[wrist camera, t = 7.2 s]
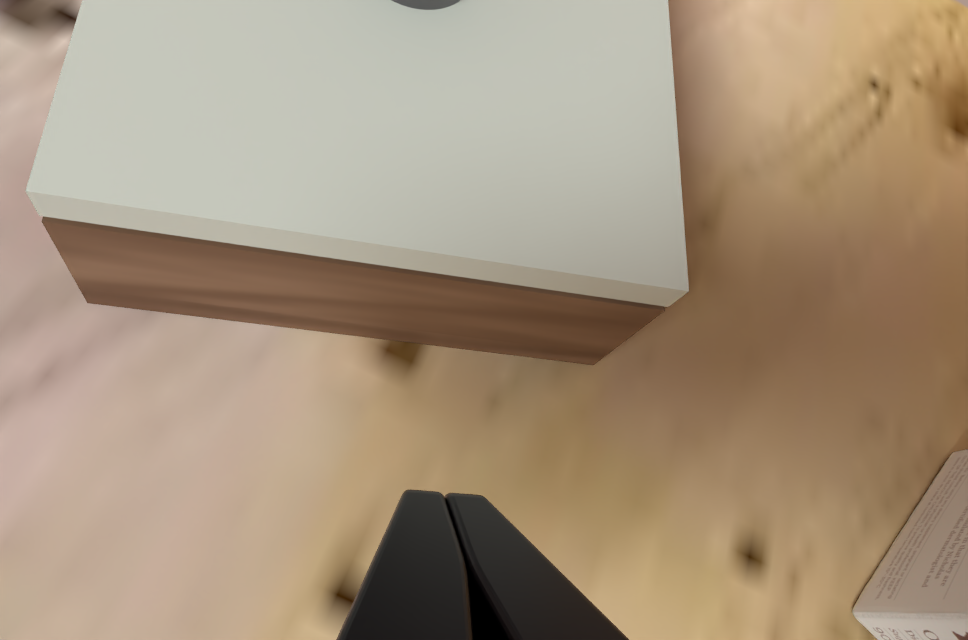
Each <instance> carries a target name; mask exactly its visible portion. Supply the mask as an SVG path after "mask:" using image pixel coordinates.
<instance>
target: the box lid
mask: <svg viewBox="0 0 968 640" xmlns="http://www.w3.org/2000/svg"><path fill="white" fill-rule="evenodd" d="M26 193H27V195H28V196H29V198H30V200H31V202H32V203H33V205H34V207H35V209H36V211H37V212H38V214H39V216H44V217H51V218H58V219H65V220H72V221H79V222H86V223H93V224H99V225H106V226H113V227H120V228H127V229H134V230H141V231H148V232H155V233H161V234H168V235H175V236H182V237H189V238H196V239H203V240H210V241H217V242H224V243H230V244H237V245H244V246H251V247H258V248H265V249H272V250H279V251H286V252H293V253H299V254H306V255H313V256H320V257H327V258H334V259H341V260H348V261H355V262H362V263H368V264H375V265H382V266H389V267H396V268H403V269H410V270H417V271H424V272H430V273H437V274H444V275H451V276H458V277H465V278H472V279H479V280H486V281H493V282H499V283H506V284H513V285H520V286H527V287H534V288H541V289H548V290H555V291H562V292H568V293H575V294H582V295H589V296H596V297H603V298H610V299H617V300H624V301H630V302H637V303H644V304H651V305H658V306H665V307H669V306H670V305H672V304H673V303H674V302H676V301H677V300H678V299H680V298H681V297H682V296H684V295H685V294H686V293H687V292H689V284H688V270H687V256H686V242H685V228H684V215H683V201H682V187H681V173H680V159H679V145H678V132H677V118H676V104H675V90H674V76H673V62H672V48H671V35H670V21H669V7H668V0H82V3H81V7H80V10H79V13H78V17H77V20H76V23H75V27H74V30H73V33H72V37H71V40H70V44H69V47H68V50H67V54H66V57H65V60H64V64H63V67H62V70H61V74H60V77H59V80H58V84H57V87H56V90H55V94H54V97H53V100H52V104H51V107H50V110H49V114H48V117H47V121H46V124H45V127H44V131H43V134H42V137H41V141H40V144H39V147H38V151H37V154H36V157H35V161H34V164H33V167H32V171H31V174H30V177H29V181H28V184H27V187H26Z"/></svg>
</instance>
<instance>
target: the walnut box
mask: <svg viewBox="0 0 968 640" xmlns="http://www.w3.org/2000/svg"><path fill="white" fill-rule="evenodd" d="M42 223H43V225H44V226H45V228H46V230H47V232H48V233H49V235H50V237H51V239H52V241H53V242H54V244H55V246H56V248H57V249H58V251H59V253H60V255H61V257H62V258H63V260H64V262H65V264H66V265H67V267H68V269H69V271H70V273H71V274H72V276H73V278H74V280H75V281H76V283H77V285H78V287H79V289H80V290H81V292H82V294H83V296H84V297H85V299H86V301H87V303H93V304H101V305H109V306H117V307H125V308H133V309H142V310H150V311H158V312H166V313H174V314H182V315H190V316H199V317H207V318H215V319H223V320H231V321H239V322H248V323H256V324H264V325H272V326H280V327H288V328H297V329H305V330H313V331H321V332H329V333H337V334H345V335H354V336H362V337H370V338H378V339H386V340H394V341H403V342H411V343H419V344H427V345H435V346H443V347H452V348H460V349H468V350H476V351H484V352H492V353H500V354H509V355H517V356H525V357H533V358H541V359H549V360H558V361H566V362H574V363H582V364H590V365H594V364H595V363H597V362H598V361H599V360H600V359H602V358H603V357H604V356H606V355H607V354H608V353H610V352H611V351H612V350H614V349H615V348H616V347H618V346H619V345H620V344H622V343H623V342H624V341H625V340H627V339H628V338H629V337H631V336H632V335H633V334H635V333H636V332H637V331H639V330H640V329H641V328H643V327H644V326H645V325H647V324H648V323H649V322H650V321H652V320H653V319H654V318H656V317H657V316H658V315H660V314H661V313H662V312H664V311H665V309H664V306H658V305H651V304H644V303H637V302H630V301H624V300H617V299H610V298H603V297H596V296H589V295H582V294H575V293H568V292H562V291H555V290H548V289H541V288H534V287H527V286H520V285H513V284H506V283H499V282H493V281H486V280H479V279H472V278H465V277H458V276H451V275H444V274H437V273H430V272H424V271H417V270H410V269H403V268H396V267H389V266H382V265H375V264H368V263H362V262H355V261H348V260H341V259H334V258H327V257H320V256H313V255H306V254H299V253H293V252H286V251H279V250H272V249H265V248H258V247H251V246H244V245H237V244H230V243H224V242H217V241H210V240H203V239H196V238H189V237H182V236H175V235H168V234H161V233H155V232H148V231H141V230H134V229H127V228H120V227H113V226H106V225H99V224H93V223H86V222H79V221H72V220H65V219H58V218H51V217H44V216H43V219H42Z"/></svg>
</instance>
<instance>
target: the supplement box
mask: <svg viewBox="0 0 968 640" xmlns="http://www.w3.org/2000/svg"><path fill="white" fill-rule="evenodd" d="M852 613H853V615H854V616H855V618H856V619H857V620H858V621H859V622H860V623H861V624H862V625H863V626H864V627H865V628H866V629H867V630H868V631H869V632H870V633H871V634H872V635H874V636H875V637H876V638H877V639H878V640H968V449H966V450H961V451H957V452H953V453H952V454H951V455H950V457H949V458H948V460H947V461H946V462H945V464H944V466H943V467H942V469H941V470H940V472H939V473H938V475H937V476H936V477H935V479H934V481H933V483H932V484H931V485H930V487H929V489H928V490H927V492H926V493H925V495H924V496H923V498H922V500H921V501H920V502H919V504H918V505H917V507H916V508H915V510H914V511H913V513H912V515H911V516H910V518H909V520H908V521H907V523H906V524H905V526H904V527H903V529H902V530H901V532H900V533H899V535H898V536H897V538H896V539H895V541H894V543H893V544H892V546H891V547H890V549H889V551H888V552H887V554H886V555H885V557H884V558H883V560H882V561H881V563H880V564H879V566H878V568H877V569H876V571H875V573H874V574H873V576H872V578H871V579H870V581H869V582H868V583H867V584H866V586H865V588H864V590H863V591H862V593H861V594H860V596H859V598H858V600H857V602H856V604H855V606H854V608H853V610H852Z"/></svg>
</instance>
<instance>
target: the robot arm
mask: <svg viewBox="0 0 968 640" xmlns="http://www.w3.org/2000/svg"><path fill="white" fill-rule="evenodd" d="M336 640H629V639H628V638H627V637H626V636H625V635H624V634H623V633H622V632H621V631H620V630H619V629H618V628H617V627H616V626H615V625H614V624H613V623H612V622H611V621H610V620H609V619H608V618H607V617H606V616H605V615H604V614H603V613H602V612H601V611H600V610H599V609H598V608H597V607H596V606H595V605H594V604H593V603H592V602H590V601H589V600H588V599H587V598H586V597H585V596H584V595H583V594H582V593H581V592H580V591H579V590H578V589H577V588H576V587H575V586H574V585H573V584H572V583H571V582H570V581H569V580H568V579H567V578H566V577H565V576H564V575H563V574H562V573H561V572H560V571H559V570H558V569H557V568H556V567H555V566H554V565H553V564H552V563H551V562H550V561H549V560H548V559H547V558H546V557H545V556H544V555H543V554H542V553H541V552H540V551H539V550H538V549H537V548H536V547H535V546H534V545H533V544H532V543H531V542H530V541H529V540H528V539H527V538H526V537H525V536H524V535H523V534H522V533H521V532H520V531H519V530H518V529H517V528H516V527H515V526H514V525H513V524H511V523H510V522H509V521H508V520H507V519H506V518H505V517H504V516H503V515H502V514H501V513H500V512H499V511H498V510H497V509H496V508H495V507H494V506H493V505H492V504H491V503H490V502H489V501H488V500H487V499H486V498H485V497H483V496H481V495H473V494H459V493H448V494H446V495H445V496H443V495H442V494H441V493H439V492H434V491H421V490H406V491H405V492H404V493H403V494H402V496H401V498H400V501H399V503H398V505H397V507H396V510H395V512H394V514H393V516H392V518H391V521H390V523H389V525H388V527H387V529H386V532H385V534H384V536H383V538H382V540H381V543H380V545H379V547H378V549H377V551H376V554H375V556H374V558H373V560H372V562H371V565H370V567H369V569H368V571H367V573H366V576H365V578H364V580H363V582H362V584H361V587H360V589H359V591H358V593H357V595H356V598H355V600H354V602H353V604H352V606H351V609H350V611H349V613H348V615H347V617H346V620H345V622H344V624H343V626H342V628H341V631H340V633H339V635H338V637H337V639H336Z"/></svg>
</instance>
